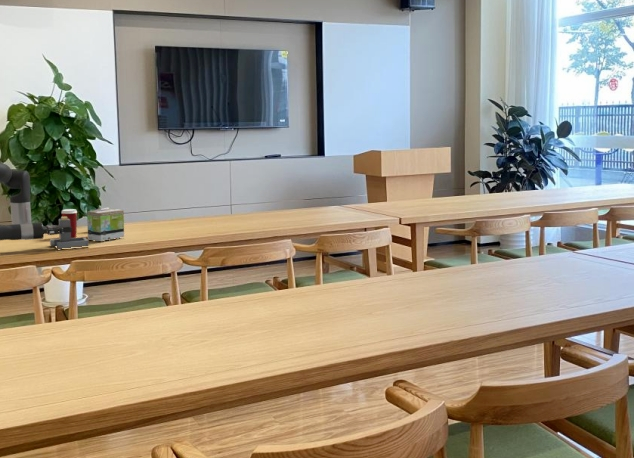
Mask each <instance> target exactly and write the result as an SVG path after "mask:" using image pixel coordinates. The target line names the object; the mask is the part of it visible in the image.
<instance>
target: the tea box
mask: <svg viewBox="0 0 634 458" xmlns="http://www.w3.org/2000/svg"><path fill="white" fill-rule="evenodd" d="M102 209H103V208H102ZM124 211H125V210H123V209H118V208H117V209H116V208H109V209H103V210H96V209H94V210H88V211H87V213H86V214H87V223H86V224H87V240H88V241H89V240H95V241H103V240H109V239H114V238H120V237H124V238H125V218H124V217H125V216H124V214H125V213H124ZM95 241H94V242H95ZM109 241H110V240H109Z"/></svg>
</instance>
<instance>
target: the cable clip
mask: <svg viewBox="0 0 634 458" xmlns="http://www.w3.org/2000/svg"><path fill="white" fill-rule="evenodd" d="M54 239H55V238H52V239H49V244H50V245H51V246H55V243H54ZM50 245H49V246H50ZM51 246H50V247H51Z"/></svg>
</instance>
